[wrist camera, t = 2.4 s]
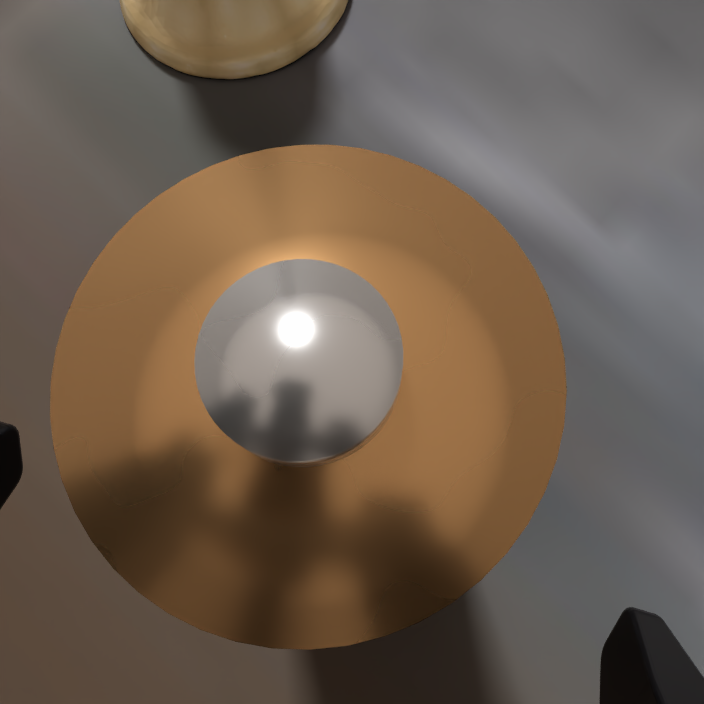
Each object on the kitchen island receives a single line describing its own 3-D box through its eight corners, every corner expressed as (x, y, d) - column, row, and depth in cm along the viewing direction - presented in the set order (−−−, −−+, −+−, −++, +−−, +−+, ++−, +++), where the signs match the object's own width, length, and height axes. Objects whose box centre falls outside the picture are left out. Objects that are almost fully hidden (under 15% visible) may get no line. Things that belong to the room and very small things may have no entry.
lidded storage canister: (359, 614, 18) (304, 810, 5) (234, 489, 19) (-89, 373, 6) (477, 479, 18) (698, 336, 6) (350, 366, 19) (293, 28, 7)
